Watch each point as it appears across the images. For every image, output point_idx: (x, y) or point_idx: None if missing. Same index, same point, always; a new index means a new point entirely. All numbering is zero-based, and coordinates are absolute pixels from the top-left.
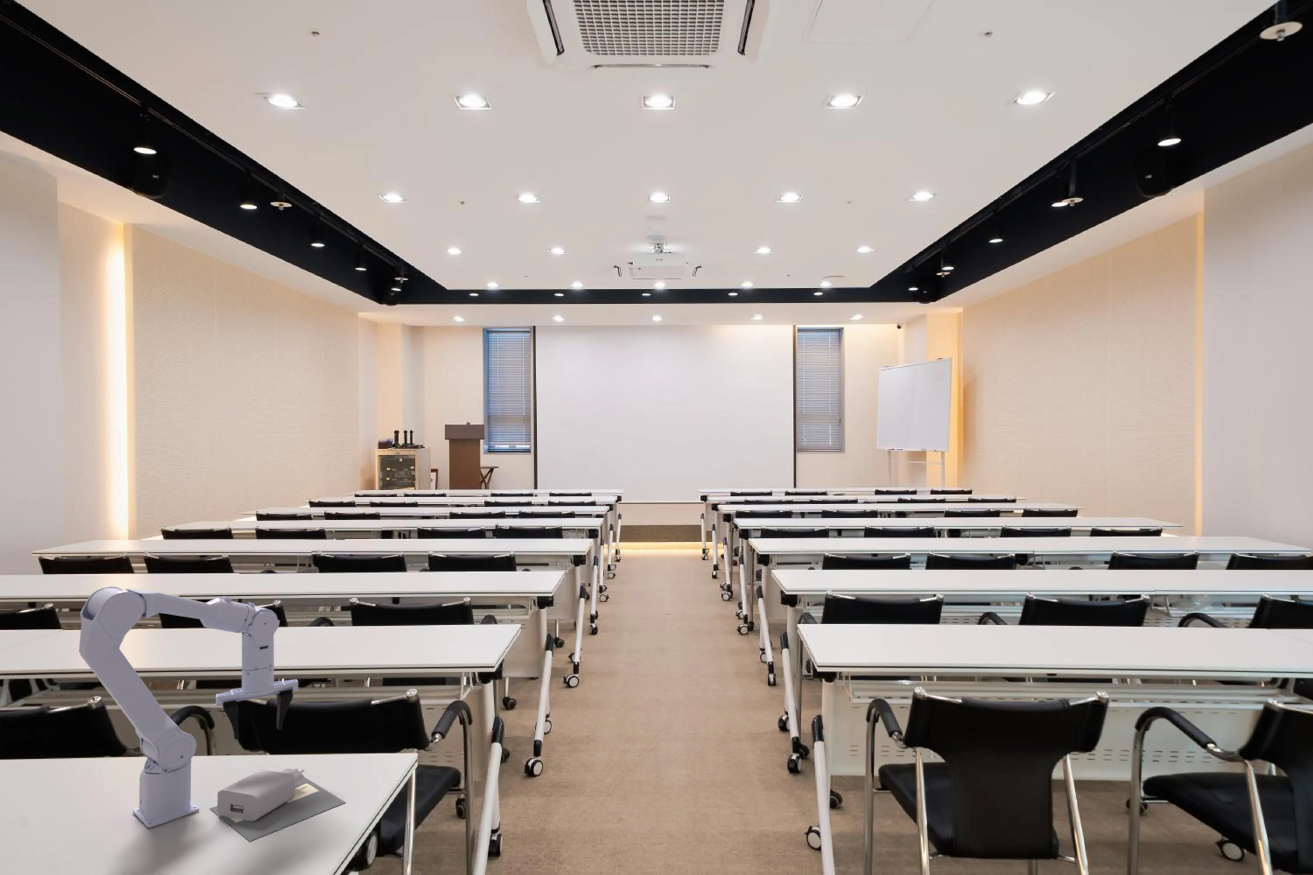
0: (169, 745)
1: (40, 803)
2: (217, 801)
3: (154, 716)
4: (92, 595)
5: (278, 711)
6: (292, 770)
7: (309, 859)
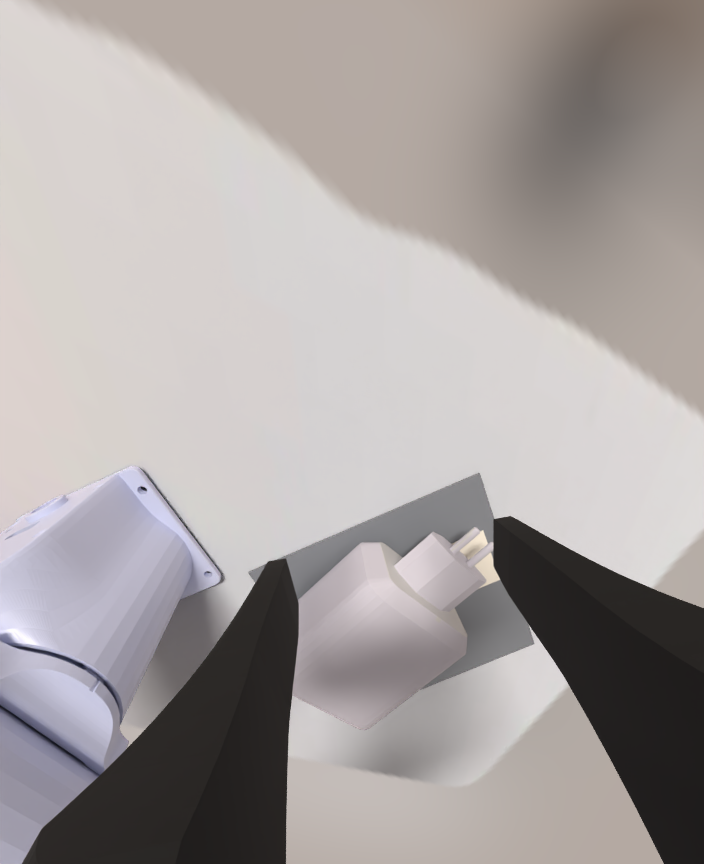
0: None
1: None
2: None
3: None
4: None
5: (569, 634)
6: (466, 577)
7: (439, 773)
